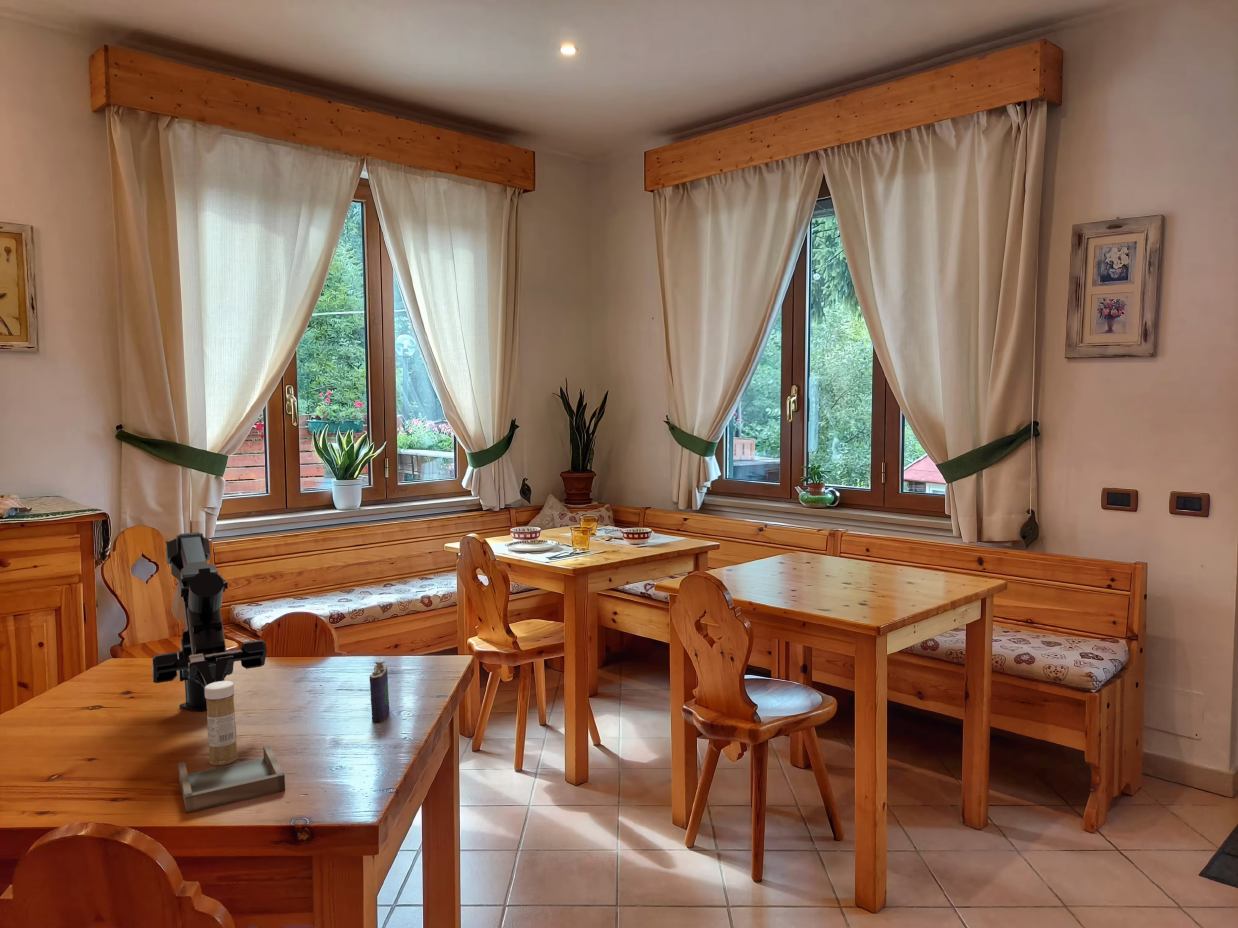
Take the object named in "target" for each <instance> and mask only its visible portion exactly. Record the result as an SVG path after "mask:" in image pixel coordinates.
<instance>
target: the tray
mask: <svg viewBox="0 0 1238 928" xmlns="http://www.w3.org/2000/svg"><path fill="white" fill-rule="evenodd" d="M262 749H263V752H262V753H263V757H262V758H255V759H252V760H247V761H242V762H237V763H234V764H232V763H231V764H227V765H222V766H219V767H214V768H210V769H205V770H200V771H197V772H196V771H195V772H192V773H188V769H187V765H186V761H183V762H177V767H178V780H179V784H180V786H179V787H180V790H181V793H182V794H181V795H182V800H183V805H184V809H185V813H186V814H190V813H194V811H195V812H198V811H204V810H207V809H211V808H210V807H212V808H214V807H215V806H216V807H219V806H218V805H220V806H224V805H228V803H229V804H232V803H233V804H234V803H236V802H237V803H238V802H240V801H245V800H250V799H253V798H254V799H255V798H257V797H262V796H266V795H270V794H271V795H272V794H277V793H279V792H283V791H286V779H285V777H286V776H285V775H286V774H285V773H284V771H283V769H282V767H281V765H280V763H279V762H278V759H277V757H276V755H275V753H274V751H273V749H272V747H271V745H270V744H266V745H263V746H262ZM216 807H215V808H216ZM206 808H207V809H206ZM188 812H189V813H188Z"/></svg>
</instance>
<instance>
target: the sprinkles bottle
mask: <svg viewBox="0 0 1238 928" xmlns="http://www.w3.org/2000/svg"><path fill="white" fill-rule="evenodd" d="M234 696H235V684H234V682H233V681H232V680H231V681H230V680H224V681H219V682H214V683H211V684H208V685H207V686H205V698H206V702H207V709H206V721H207V724H206V725H207V739H208V741H207V742H208V748H209V749H208V753H209V760H208V761H209V764H210V765H212V766H227V765H230V764H232V763H234V762H235V761H236V760H237V759H238V758H239V755H238V748H237V747H238V746H237V745H238V744H237V738H238V737H237V725H236V723H237V722H236V713H235V712H236V711H235V700H234V698H235V697H234Z"/></svg>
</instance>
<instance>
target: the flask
mask: <svg viewBox="0 0 1238 928" xmlns="http://www.w3.org/2000/svg"><path fill="white" fill-rule="evenodd" d="M373 663H374V664H376V665H375V666H374V669H373V671H372V673H371V674H370V675H369V689H370V705H371V706H370V708H371V722H372V723H373V724H375V725H376V724H382V723H384V722H385V721H386V720H388V718H389V715H390V701H389V700H390V699H389V677H388V675H389V673H388V666H387V664H386V661H374V662H373Z"/></svg>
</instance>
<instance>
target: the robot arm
mask: <svg viewBox="0 0 1238 928" xmlns="http://www.w3.org/2000/svg"><path fill="white" fill-rule="evenodd" d="M210 547H211V546H210V539H209V538H207V537H204V534H203V533H202V532H201V533H200V532H199V531H198V532H187V533H180V534H177V535H176V537H175V538H174V539H172V540H170V541H168V542H166V544H165V562H166V565H169V568H170V572H171V575H172V576H173V577H174V578H175V579H177V592H178V598H182V605H183V611H184V612H183V613H184V621H185V629H186V630H184V632H183V633H182V635H181V636H182V637H181V639H180V650H178V651H173V652H172V651H171V652H166V653H159V654H158V653H157V654H155V655H154V656H153V657H152V665H151V667H152V668H151V669H152V671H151V672H152V682H153V683H154V684H160V683H166V682H167V683H168V682H173V681H174V680H175V679H176V678H177V677H178V680H179V682H183V681H184V688H185V702H183V703H180V704H179V705H178V706H179V708H182V709H185V710H192V711H195V712H203V711H205V710H207V702H206V698H205V686H207V685H208V684H211V683H214V682H219V681H225V678H226V677H227V676H230V675H233V672H234V664H235V662H240V664H241V667H242V668H244V669H245V670H248V669H255V668H260V667H263V666H265V664H266V657H267V653H268V650H267V645H266V642H265V641H264V640H263V639H255V640H249V641H242V642H241V649H236V650H229V651H228V650H227V647H226V639H225V637H226V636H225V632H224V625H223V618H222V611H221V608H222V605H223V595H224V593H225V591H226V590H227V589H228V588H229V587H228V581H226V580H225V578H223V576H222V574H219V571H218V569H217V567H216V566H215V565H213V564H210V563H208V561H210V557H211V549H210Z"/></svg>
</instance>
